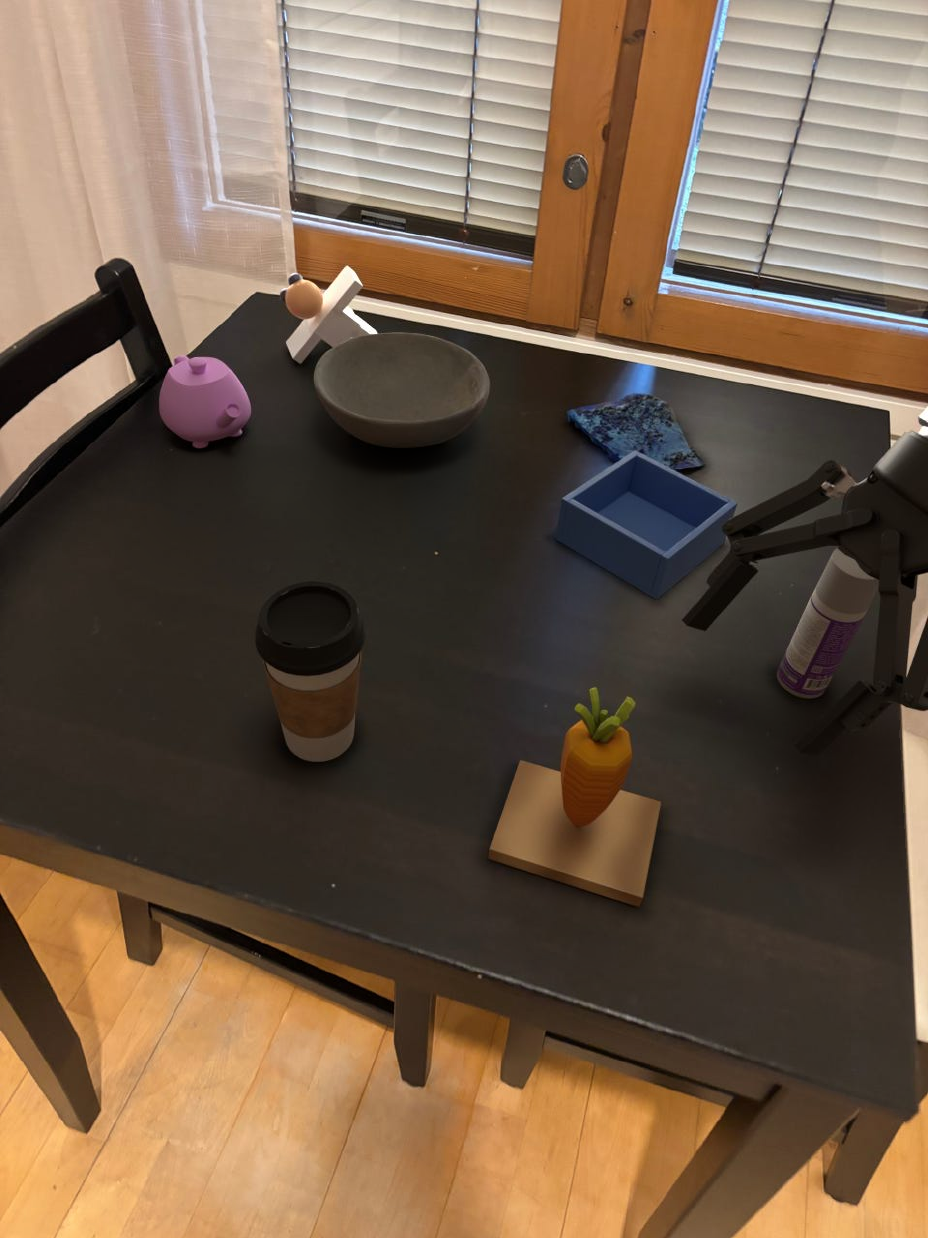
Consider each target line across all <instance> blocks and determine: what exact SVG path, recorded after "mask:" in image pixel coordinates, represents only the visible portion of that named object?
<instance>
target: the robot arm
mask: <svg viewBox="0 0 928 1238" xmlns="http://www.w3.org/2000/svg"><path fill="white" fill-rule="evenodd" d="M917 421H918V424H919V425H920V426H921V427H919V429H918V430H917V431H914V430H912V429H911V430H909V431H908V432H907V431H904V432H903V434H901V436H900V437H899V438H898V439H897V440H896V441H895V442H894V443H893V445H892V446H891V447H890V448H889V449H888V450H887V451H886V452H885V454H884V455H883V456H882V457H881V458H880V459H879V460H878V461H877V463H875V465H874V466H873V468H872V470H871V472H870V474H869V475H868V476H867V477H866V478H865V479H863V480H862V481H860V482H857V481H855V479H854V478H852V471H850V470H849V469H847V468H845V467H844V466H843V465H841V464H839V463H838V462H837V461H835V460H833V459H829V460H826V461H825V462H823V464H821V466H819V467H818V468H817V469H816V470H815V471H814V472H813V473H812V474H811V475H810V476H809V477H808V478H807V479H805V480H803V481H802V482H801V481H800V482H799V483H797V484H795V485H793V486H791V487H790V488H787V489H786V490H783V491H782V492H780V493H778V494H776V495H774V496H772V497H770V498H768V499H766V500H764V501H762V502H760V503H758V504H756V505H755V506H752V507H750V508H749V509H746V510H745V511H743V512H741V513H738V514H737V515H734V516H733V518H731V519H729V520H727V521H726V522H724V524H723V525H722V531H723V533H724V534H726V535H727V536H726V538H727V539H728V542H729V544H730V546H729V551H728V552H727V553H726V555H724V557H723V558H722V560H721V561H720V562H719V563H718V564H717V565H716V567H715V568H714V569H713V570H712V571H711V572H710V574H709V575H708V576H707V578H706V581H705V583H706V584H707V585H708V587H709V588H708V589H706V591H705V592H704V593H703V595H701V596H700V598H699V599H698V600H697V601H696V602H695V603H694V604H693V606H692V607H691V608H690V610H688V612H687V613H686V614H685V615H684V616H683V618H681V621H682V622H683V623H684V624H685V626H686V627H688V628H692V629H696V630H698V631H702V632H706V631H707V630H708V629H709V628H710V627H711V626H712V625H713V623H714V622H715V621H716V620H717V619H718V618H719V617H720V616H721V614H722V613H723V612H724V611H725V610H726V609H727V607H728V606H730V604H731V603H732V602H733V601H734V600H735V599H736V598H737V596H739V594H740V593H741V592H742V591H743V590H744V589H745V587H746V586H747V585H748V584H749V583H750V581H751V580H753V578H754V577H755V576H756V575H757V574H758V572H759V570H758V569H757V568H756V567H755V565H753V564H759V562H758V561H761V560H766V559H771V558H776V557H782V556H785V555H790V554H797V553H801V552H806V551H810V550H816V549H819V548H824V547H836V549H839V550H840V551H841V552H842V553H843V554H844V555H846V556H848V557H850V558H852V559H854V560H855V561H856V562H857V564H858V565H859V567H860V568H861V569H862V570H863V571H864V572H865V573H866V574H867V575H869V576H871V577H873V578H875V579H877V580H879V586H878V593H879V596H880V600H879V612H878V622H877V632H876V635H877V636H876V643H875V654H874V666H873V676H872V682H869V681H866V680H863V679H859V680H858V681H857V682H856V683H855V684H854V685H852V686H851V688H849V690H848V691H846V692H845V694H844V695H842V696H841V697H840V698H839V699H838V701H836V703H834V704H833V705H832V706H831V707H830V708H829V709H828V711H826V712H825V714H823V715H822V716H821V717H820V718H819V719H818V720H817V721H816V722H815V723H814V724H813V725H812V726H811V727H810V728H809V729H808V730H807V731H806V732H805V733H804V734H803V735H802V736H801V737H800V738H799V739H798V740H797V741H796V742H795V743H794V744H793V746H794V748H796V750H797V752H799V753H800V754H805V755H812V756H819V755H820V754H822V752H823V751H824V750H826V748H828V747H829V745H831V744H832V743H833V742H834V741H835V740H836V739H837V738H838V737H839V736H840V735H841V734H842V733H843V732H844V731H845V730H847V731H848V732H854V733H859V732H861V731H864V730H866V729H867V728H868V727H869V726H870V725H871V724H872V723H873V722H874V721H875V720H876V719H877V718H879V716H881V714H883V712H885V711H886V710H887V709H888V708H889V707H890V706H892V705H893V704H895V703H896V704H899V705H901V706H903V707H905V708H908V709H911V710H916V711H919V712H927V711H928V616H927V617H926V621H925V622H924V625H923V629H922V631H921V634H920V637H919V640H918V643H917V646H916V649H915V652H914V654H913V657H912V660H911V663H910V666H909V669H908V661H909V650H910V639H911V628H912V615H913V604H914V602H915V601H916V598H917V592H918V579H919V578H918V577H919V576H920V575H925V574H928V406H926V407H925V409H924V410H923V411H921V413H920V414H919V415H918V416H917ZM842 496H843V499H842V504H841V505H842V506H841V511H840V513H838V514H835V515H830V516H826V517H822V518H817V519H815V520H814V521H813V522H811V523H810V522H809V523H806V524H802V525H797V526H793V527H788V528H783V529H780V530H775V531H771V532H768V531H769V530H771V529H773V528H775V527H777V526H780V525H782V524H784V523H786V522H788V521H791V520H792V519H794V518H796V517H798V516H801V515H803V514H805V513H806V512H808V511H811V510H813V509H814V508H817V507H819V506H821V505H822V504H824V503H826V502H828V501H829V500H830V499H831V500H836V499H839V498H842ZM765 532H766V533H765ZM750 563H753V564H750Z"/></svg>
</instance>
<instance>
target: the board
mask: <svg viewBox="0 0 928 1238" xmlns="http://www.w3.org/2000/svg"><path fill="white" fill-rule="evenodd" d="M661 806H662V802H661V801H659V800H656V799H653V798H651V797H650V798H649V797H646V796H643V795H640V794H636V793H632V792H629V791H626V790H622V789H620V791H619V792H618V794H617V795H616V797H615V798H614V800H613V801H612V802H611V804H610V805H609V806H608V808H607V809H606V810H605V811H604V812H603V813H602V814H601V815H600V816H599V817H598V818H596V819H595V820H594V821H593V822H592V823H590V824H589V825H586V826H583V827H576V826H575V825H574V824H573V823H572V822H571V821H570V820H569V818H568V817H567V815H566V813H565V810H564V808H563V798H562V787H561V771H558V770H556V769H552V768H548V767H545V766H542V765H538V764H535V763H531V762H530V761H529V762H528V761H524V760H521V759H520V760H519V763H518V765H517V768H516V771H515V774H514V777H513V780H512V783H511V786H510V789H509V791H508V794H507V797H506V800H505V802H504V806H503V809H502V811H501V814H500V817H499V820H498V823H497V826H496V829H495V831H494V834H493V838H492V840H491V843H490V846H489V850H488V857H487V859H488V860H490V861H493V862H497V863H500V864H502V865H506V866H508V867H512V868H515V869H519V870H522V871H525V872H528V873H531V874H535V875H537V876H540V877H544V878H547V879H550V880H552V881H556V882H559V883H562V884H565V885H568V886H572V887H574V888H577V889H581V890H584V891H587V892H590V893H593V894H596V895H600V896H602V897H606V898H609V899H612V900H615V901H618V902H621V903H624V904H628V905H630V906H634V907H637V908H640V906H641V904H642V902H643V898H644V894H645V889H646V883H647V879H648V873H649V868H650V864H651V859H652V853H653V848H654V843H655V838H656V834H657V833H656V832H657V827H658V823H659V817H660V812H661Z"/></svg>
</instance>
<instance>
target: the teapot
mask: <svg viewBox="0 0 928 1238" xmlns="http://www.w3.org/2000/svg"><path fill="white" fill-rule="evenodd" d="M173 363H174V365H173V366H171V367H169V369H168V370H167V373H166V374H165V377H164V379H163V382H162V385H161V388H160V391H159V396H158V397H159V399H158V409H159V410H158V411H159V416H160V418H161V420H162V422H163V423H164V424H165V426H166V427H167V428H168V429H169V430H170V431H172V432H173V433H174V434H175V435H176V436H177V437H179V438H181V439H182V440H185V441H186V442H192V447H194V448H196V449H203V448H206V447H208V446H209V442H213V441H218V440H222V439H225V438H227V437H233V438H234V437H239V436H241V435H242V434H243V430H242V429H243V428H244V426H246V424H247V423H248V421H249V419H250V418H251V415H252V406H251V401H250V399H249V396H248V394H247V393H248V392H247V391H246V390H245V388H244V386H243V384H242V383H241V382H240V381H241V380H239V378H238V377H237V376H236V374H235V373H234V372H233V370H232V369H231V368H230V367H229V366H228V365H227V364H226V363H224V362H223V361H222V360H220V359H218V358H216V357H211V356H194V357H192V358H189V356H187V355H185V354H181V355H177V356H175V357H174V359H173Z"/></svg>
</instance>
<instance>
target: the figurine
mask: <svg viewBox="0 0 928 1238" xmlns="http://www.w3.org/2000/svg"><path fill="white" fill-rule="evenodd" d="M287 282H288V285H289V286H288V287H285V288H283V289H281V291H280V292H279V298H280V301H281V302H282V303H284V304H285V305H286V308H287V310H288V311H289V312H290V314H291V315H293V316H294V317H296V318H297V319H300V320H302V321H301V322H300V324H299V325H298V326H297V327H296V329H295V330H293V333H291V335H290V336H289V337H288V339H287V340H286V341H285V344H286V346H287V349H288V351H289V353H290V356H291V358H292V360H294V361H295V362H297V363H298V364H299V365H302V363H303V362H304V361H305V360H306V359H307V357H308V356H309V355H310V354H311V352H312V351H313V350H314V349H315V347H316V346H317V345H318V344H319V343H320V341H321V340H322V341H323V342H325V343H326V344H328V346H330V347H331V348H333V347H335V346H336V345H338V344H340V343H342V342H345V341H347V340H349V339H352V338H355V337H358V336H362V335H367V334H379V333H378V332H377V329H375V328H373V326H371V325H369V324H368V323H367V322H366V321H365V320H363V318H361V317H360V316H358V315H357V314H355V312H354V310H353V309H352V308H350V307H349V305H350V303H351V302H352V301H353V300H354V299H355V297H356V296H357V295H358V293H360V291H361V290H362V289H363V288H364V285H363V283H362V282H361V280H360V278H359V277H358V275H357V273H356V272H355V270H353V269H352V268H351V267H350V266H348V265H345V266H344V268H343V269H342V270H341V271H340V273H338V275H337V277H335V279H334V280H333V281H332V283H331V284H330V285H329V286H328V288H326V290H325V292H323V293H322V291H321V289H320V288H319V286H318V285H317V284H315V283H314V282H312V281H310V280H308V279H304V278H303V276H302V274H300V273H298V272H293V273H291V274H289V276H288V280H287Z"/></svg>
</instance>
